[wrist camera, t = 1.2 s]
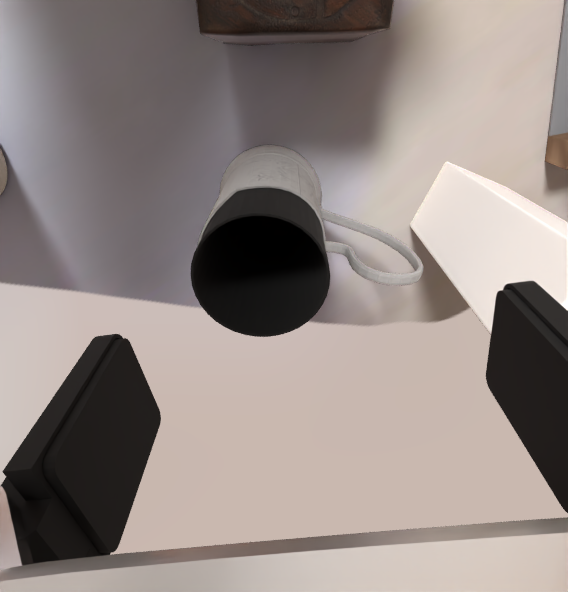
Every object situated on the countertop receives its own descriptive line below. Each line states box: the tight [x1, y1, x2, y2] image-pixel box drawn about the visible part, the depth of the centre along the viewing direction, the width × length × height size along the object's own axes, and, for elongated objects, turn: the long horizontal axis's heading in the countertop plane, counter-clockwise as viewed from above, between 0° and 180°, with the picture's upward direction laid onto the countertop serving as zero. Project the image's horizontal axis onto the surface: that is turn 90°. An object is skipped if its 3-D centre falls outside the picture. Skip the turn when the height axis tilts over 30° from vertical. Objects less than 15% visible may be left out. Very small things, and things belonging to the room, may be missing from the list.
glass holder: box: [191, 145, 423, 337], centre depth 28 cm, size 9×14×15 cm, turn 85°
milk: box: [410, 162, 568, 334], centre depth 25 cm, size 6×6×22 cm
